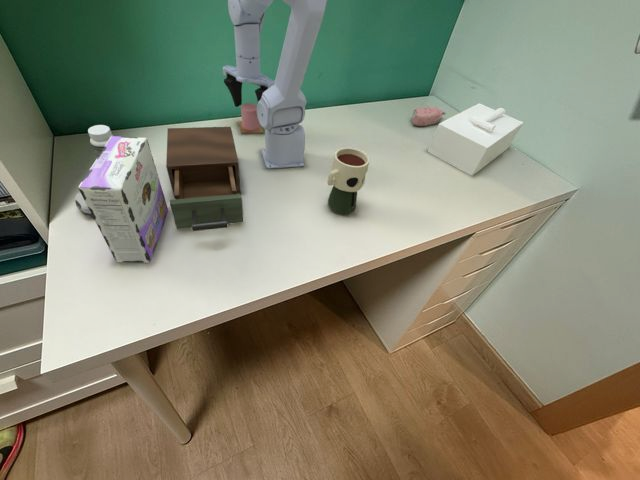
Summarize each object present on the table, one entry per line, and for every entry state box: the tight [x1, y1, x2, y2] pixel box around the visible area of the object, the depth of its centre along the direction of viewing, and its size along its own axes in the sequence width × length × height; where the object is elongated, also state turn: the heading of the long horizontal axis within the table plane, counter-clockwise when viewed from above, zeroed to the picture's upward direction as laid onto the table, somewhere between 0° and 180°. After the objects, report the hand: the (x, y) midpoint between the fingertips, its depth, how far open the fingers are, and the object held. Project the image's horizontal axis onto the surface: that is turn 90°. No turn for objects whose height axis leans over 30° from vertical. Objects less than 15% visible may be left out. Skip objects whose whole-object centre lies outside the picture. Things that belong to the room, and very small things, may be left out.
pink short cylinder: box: [240, 102, 260, 130], centre depth 90 cm, size 5×5×6 cm
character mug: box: [327, 146, 371, 215], centre depth 69 cm, size 11×7×13 cm, turn 130°
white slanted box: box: [427, 102, 524, 177], centre depth 95 cm, size 14×25×11 cm, turn 135°
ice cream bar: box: [411, 106, 446, 127], centre depth 107 cm, size 6×4×15 cm
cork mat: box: [238, 120, 264, 135], centre depth 92 cm, size 6×6×1 cm
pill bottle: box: [87, 124, 114, 158], centre depth 71 cm, size 5×5×8 cm
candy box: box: [77, 135, 169, 264], centre depth 55 cm, size 14×6×16 cm, turn 5°
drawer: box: [169, 166, 245, 232], centre depth 64 cm, size 18×12×6 cm
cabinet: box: [165, 126, 242, 199], centre depth 72 cm, size 15×14×8 cm
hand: (250, 109), depth 88 cm, fingers open, 7 cm apart
